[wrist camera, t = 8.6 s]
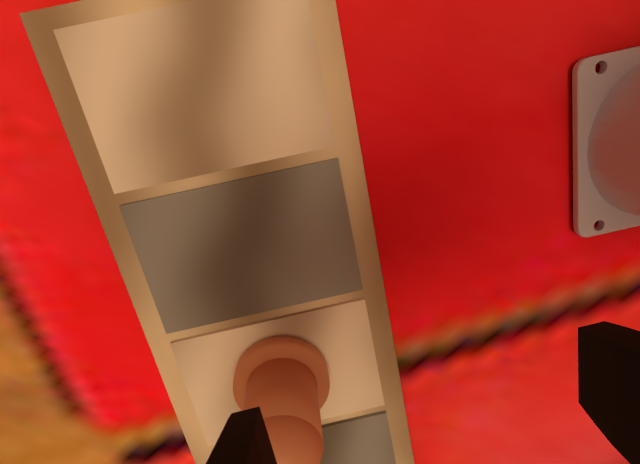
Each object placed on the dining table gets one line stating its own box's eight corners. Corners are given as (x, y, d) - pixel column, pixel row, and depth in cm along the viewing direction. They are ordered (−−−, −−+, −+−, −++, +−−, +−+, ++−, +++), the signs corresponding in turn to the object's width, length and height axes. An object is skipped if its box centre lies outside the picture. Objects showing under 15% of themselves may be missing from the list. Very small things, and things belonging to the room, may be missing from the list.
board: (323, -41, 15) (327, -53, 14) (415, 485, 24) (422, 505, 22) (36, 19, 15) (15, 12, 14) (230, 529, 23) (227, 551, 22)
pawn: (316, 326, 18) (330, 418, 13) (336, 402, 20) (355, 512, 14) (222, 348, 18) (197, 450, 13) (249, 423, 20) (236, 541, 14)
